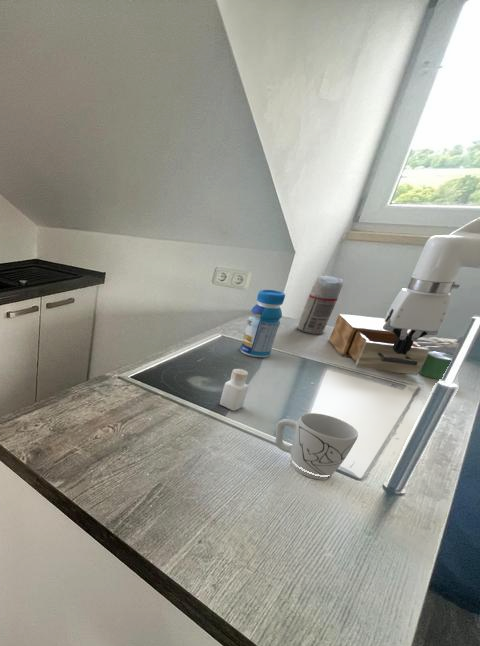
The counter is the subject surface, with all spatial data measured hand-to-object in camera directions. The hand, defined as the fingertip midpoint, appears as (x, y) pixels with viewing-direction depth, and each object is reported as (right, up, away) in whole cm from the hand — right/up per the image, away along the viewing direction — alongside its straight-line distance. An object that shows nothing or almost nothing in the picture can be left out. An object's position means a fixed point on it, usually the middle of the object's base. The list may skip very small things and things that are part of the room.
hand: (399, 352), depth 106 cm
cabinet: (+8, +1, +19) cm, 21 cm away
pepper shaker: (-53, -14, -11) cm, 56 cm away
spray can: (+5, +8, +37) cm, 38 cm away
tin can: (+13, -6, +4) cm, 15 cm away
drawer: (+2, -4, +8) cm, 9 cm away
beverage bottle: (-28, 0, +19) cm, 33 cm away
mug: (-51, -23, -31) cm, 64 cm away
